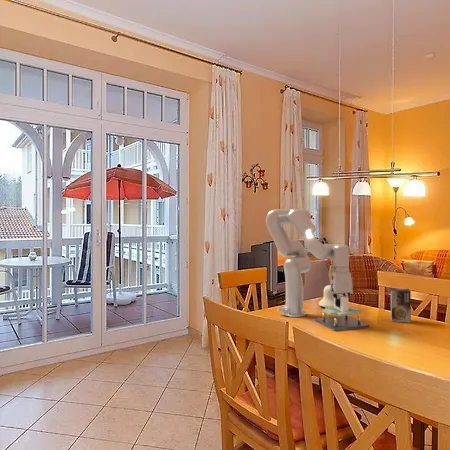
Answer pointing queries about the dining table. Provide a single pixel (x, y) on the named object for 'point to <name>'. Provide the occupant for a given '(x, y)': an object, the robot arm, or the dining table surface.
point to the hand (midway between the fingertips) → (341, 305)
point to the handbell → (327, 294)
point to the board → (334, 311)
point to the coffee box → (400, 305)
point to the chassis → (341, 322)
